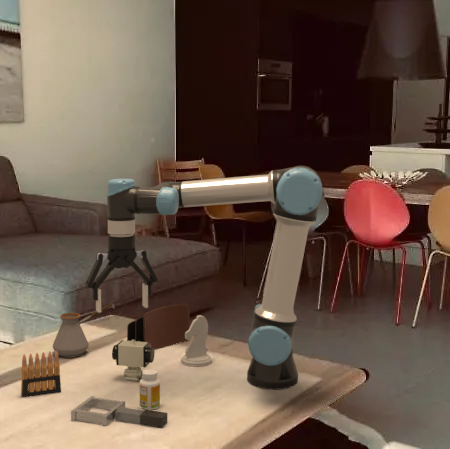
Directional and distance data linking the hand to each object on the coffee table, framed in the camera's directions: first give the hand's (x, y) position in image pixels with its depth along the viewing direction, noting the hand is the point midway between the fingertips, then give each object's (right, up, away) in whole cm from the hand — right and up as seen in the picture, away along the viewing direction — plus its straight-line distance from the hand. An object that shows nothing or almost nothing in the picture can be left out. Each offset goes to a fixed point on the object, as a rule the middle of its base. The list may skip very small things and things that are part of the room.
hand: (122, 309), depth 212 cm
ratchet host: (+3, -26, -18) cm, 32 cm away
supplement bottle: (+9, -25, -10) cm, 28 cm away
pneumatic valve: (+2, -22, +11) cm, 25 cm away
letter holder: (+6, -17, +46) cm, 50 cm away
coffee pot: (-17, -18, +36) cm, 44 cm away
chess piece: (+20, -20, +27) cm, 39 cm away
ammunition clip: (-22, -24, -2) cm, 33 cm away
